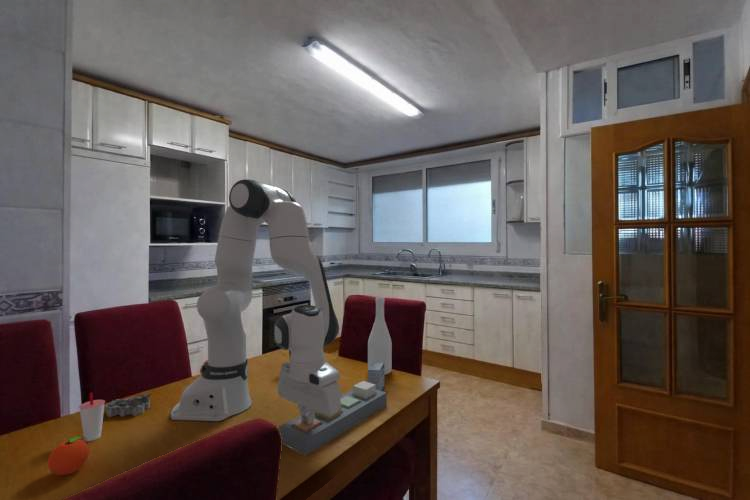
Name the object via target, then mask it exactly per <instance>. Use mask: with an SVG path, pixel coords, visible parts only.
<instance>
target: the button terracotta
mask: <svg viewBox="0 0 750 500" xmlns="http://www.w3.org/2000/svg"><path fill="white" fill-rule="evenodd" d="M320 425H321V421H319V420H316V419H314V422H313V423H311V424H308V423H305V422H303V421H301V419H300V420H298V421H296V422H294V423H293V427H294V428H296V429H298V430H300V431H302V432H304V433H307V432H309V431H311V430H313V429H315V428H316V427H318V426H320Z"/></svg>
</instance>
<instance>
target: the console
mask: <svg viewBox="0 0 750 500" xmlns="http://www.w3.org/2000/svg"><path fill="white" fill-rule="evenodd" d="M387 393H388V392H386V391H380V390H377V389H376V394H375V395H373V396H372V397H370V398H368V399H363V398H360V397H357V396H354V395H353V389H351V390H349V391H347V392H345V393H343V394H340V396H341V398H343V397H345V396H349V397H352V398H355V399H358V400H359V404H357V405H356V406H354V407H352V408H350V409H346V408H343V407H341V414H340V415H338V416H336V417H334V418H332V419H331V420H326V419H324V418H321V417H319V416H317V415H316V413H315V415H314V419H316V420H319V421H321V425H320V426H318V427H316V428H315V429H313V430H311V431H309V432H307V433H304V432H302V431H300V430H298V429H296V428H294V427H293V423H294V422H296V421H298V420H300V419H301V415H299V416H297V417H295V418H293V419H292V420H290V421H287V422H285V423H283V424H281V425H279V426H278V432H279V431H280V433H281V437H282V443H281V444H282V445H284V444H286V445H288V446H290V447H292V448H293V449H295V450H297V451H298V452H297V451H296V452H297V453H299V452H300V453H299V454H301V453H302V454H303V455H302V454H301V455H302V456H304V455H305V457H307V456H308V455H309V453H310V454H311V453H313V452H314V451H316V450H317V449H319V448H321V447H322V446H324V445H326V444H327V443H329V442H330V441H331V440H333V439H334V438H336V437H338V436H339V435H341V434H342V433H344V432H346V431H348V430H349V429H351V428H353V427H354V426H356V425H357V424H359V423H360V422H362V421H364V420H365V419H367V418H369V417H370V416H371V415H374V414H375V413H376V412H378V411H379V410H381V409H383V408H384V407H386V406H387V404H388V403H387V399H388V398H387V397H388V396H387ZM308 413H309V412H308ZM286 445H285V446H286ZM293 449H292V450H293ZM295 450H294V451H295ZM307 454H308V455H307Z"/></svg>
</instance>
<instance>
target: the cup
mask: <svg viewBox="0 0 750 500" xmlns="http://www.w3.org/2000/svg"><path fill="white" fill-rule="evenodd" d="M93 395H94V394H93V392H90V393H89V401H86V402H84V403H81V404H80V405H78V408H79V413H80V414H79V415H80V421H81V429H82V435H83V436H82V437H86V438H87V440H86V439H85V438H83V441H84V442H93V441H95V440H98V439H99V438H101V436H102V431H103V430H102V427H103V419H104V411H105V406H104V405H105V403H106V400H104V399H95V400H94V399H93V397H94V396H93Z"/></svg>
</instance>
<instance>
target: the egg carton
mask: <svg viewBox="0 0 750 500" xmlns="http://www.w3.org/2000/svg"><path fill="white" fill-rule="evenodd" d="M151 397H152V393H144V394H141V396H135V397H129V398H124V399H120V398H118V399H117V398H116V399H115V400H113V399H112V401H110V402H108V403H107V404H104V407H105V415H106V416H107V417H108V418H112V417H114V416H118V415H119V416H120V417H125V416H127V415H132V416H133V417H134V416H138V415H140V414H141V415H142V414H144V413H145V410H146V409H150V407H151V400H150V398H151Z"/></svg>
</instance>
